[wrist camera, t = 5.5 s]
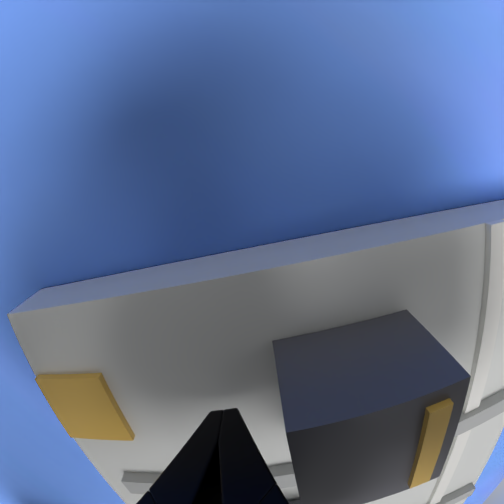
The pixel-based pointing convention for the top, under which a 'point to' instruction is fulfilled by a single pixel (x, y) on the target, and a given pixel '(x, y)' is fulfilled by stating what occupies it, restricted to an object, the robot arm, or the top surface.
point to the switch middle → (295, 502)
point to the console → (265, 340)
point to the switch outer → (368, 408)
